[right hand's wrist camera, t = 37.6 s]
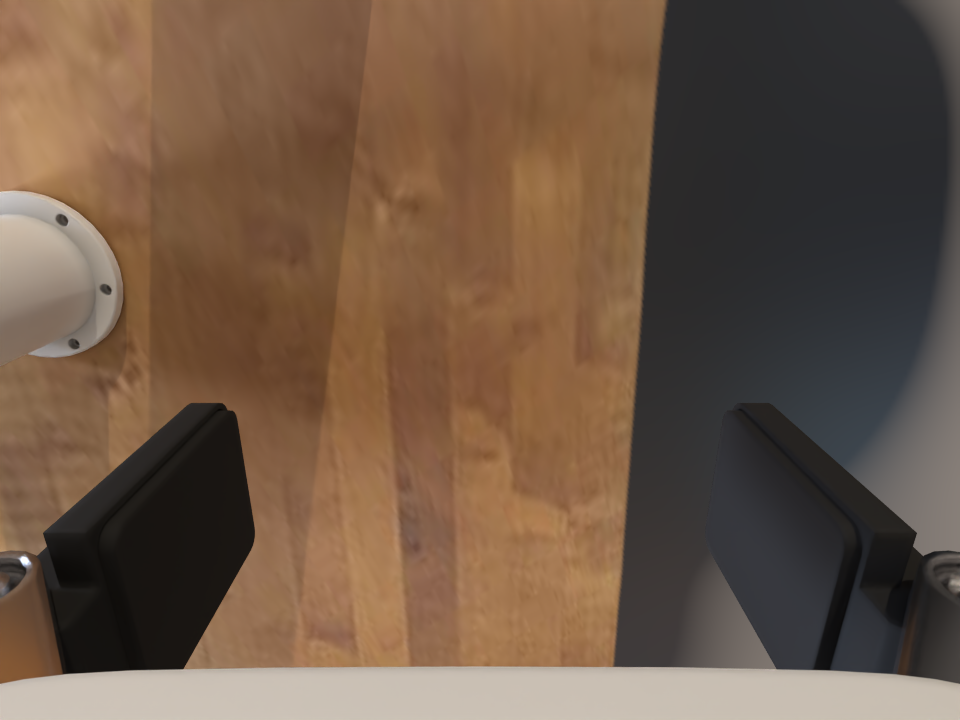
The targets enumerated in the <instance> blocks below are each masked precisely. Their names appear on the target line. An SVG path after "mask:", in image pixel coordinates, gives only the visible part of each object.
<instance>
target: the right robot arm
mask: <svg viewBox="0 0 960 720" xmlns="http://www.w3.org/2000/svg"><path fill="white" fill-rule="evenodd" d="M110 287H111V288H110ZM122 304H123V282H122V277H121V272H120V268H119V266H118V263H117V261H116V259H115V256H114V254H113V252H112V250H111V249H110V247H109V245H108V244H107V242H106V241H105V239H104V238H103V236H102V235H101V234H100V233H99V232H98V231H97V229H96V228H95V227H94V226H93V225H92V224H91V223H90V222H89V221H88V220H86V219H85V218H84V217H83V216H82V215H81V214H80V213H78V212H77V211H75V210H74V209H72V208H70V207H69V206H67V205H66V204H64V203H62V202H60V201H57V200H55V199H53V198H51V197H48V196H45V195H41V194H37V193H33V192H28V191H5V192H0V366H2V365H4V364H7V363H9V362H11V361H13V360H15V359H17V358H20V357H22V356H24V355H26V354H29V355H34V356H38V357H50V358H58V357H66V356H72V355H75V354H78V353H80V352H83V351H85V350H87V349H89V348H91V347H93V346H95V345H97V344H98V343H99V342H100V341H102V340H103V339H104V338H105V337H107V336H108V334H109V333H110V332H111V330H112V329H113V328H114V327H115V325H116V323H117V320H118V318H119V316H120V314H121V309H122ZM43 534H44V538H45V541H46V544H47V547H46V548H45V549H44V550H43V551H42V552H41V553H40V554H39V555H38V556H36V555H33V554H31V553H28V552H26V551H5V552H0V720H960V552H955V551H935V552H932V553H929V554H927V555H924V556H922V555H921V554H920V553H919V552H918V551H917V550H916V549H915V548H914V547H913V544H914V541H915V538H916V534H917V533H916V532H915V531H914V530H913V529H912V528H911V527H910V526H908V525H907V524H906V523H905V522H904V521H903V520H902V519H901V518H899V517H898V516H897V515H896V514H895V513H894V512H893V511H891V510H890V509H889V508H888V507H887V506H886V505H885V504H884V503H882V502H881V501H880V500H879V499H878V498H877V497H876V496H874V495H873V494H872V493H871V492H870V491H869V490H868V489H867V488H865V487H864V486H863V485H862V484H861V483H860V482H859V481H857V480H856V479H855V478H854V477H853V476H852V475H851V474H850V473H848V472H847V471H846V470H845V469H844V468H843V467H842V466H841V465H839V464H838V463H837V462H836V461H835V460H834V459H833V458H832V457H830V456H829V455H828V454H827V453H826V452H825V451H824V450H822V449H821V448H820V447H819V446H818V445H817V444H816V443H815V442H813V441H812V440H811V439H810V438H809V437H808V436H807V435H805V434H804V433H803V432H802V431H801V430H800V429H799V428H798V427H796V426H795V425H794V424H793V423H792V422H791V421H790V420H789V419H787V418H786V417H785V416H784V415H783V414H782V413H781V412H780V411H778V410H777V409H776V408H775V407H774V406H773V405H771V404H769V403H738V404H736V405H735V406H734V408H733V410H732V411H727V412H726V413H725V414H724V417H723V422H722V428H721V434H720V441H719V447H718V453H717V459H716V465H715V472H714V478H713V484H712V490H711V496H710V503H709V509H708V515H707V522H706V528H705V538H706V543H707V546H708V549H709V551H710V552H711V554H712V556H713V558H714V560H715V561H716V563H717V565H718V567H719V568H720V570H721V572H722V574H723V575H724V577H725V579H726V581H727V582H728V584H729V586H730V588H731V589H732V591H733V593H734V595H735V596H736V598H737V600H738V602H739V604H740V605H741V607H742V609H743V611H744V612H745V614H746V616H747V618H748V619H749V621H750V623H751V625H752V626H753V628H754V630H755V632H756V633H757V635H758V637H759V639H760V640H761V642H762V644H763V646H764V648H765V649H766V651H767V653H768V655H769V656H770V658H771V660H772V662H773V663H774V665H775V667H776V669H728V668H669V667H290V668H232V669H184V667H185V665H186V663H187V662H188V660H189V658H190V656H191V655H192V653H193V651H194V649H195V648H196V646H197V644H198V642H199V640H200V639H201V637H202V635H203V633H204V632H205V630H206V628H207V626H208V625H209V623H210V621H211V619H212V618H213V616H214V614H215V612H216V611H217V609H218V607H219V605H220V604H221V602H222V600H223V598H224V596H225V595H226V593H227V591H228V589H229V588H230V586H231V584H232V582H233V581H234V579H235V577H236V575H237V574H238V572H239V570H240V568H241V567H242V565H243V563H244V561H245V560H246V558H247V556H248V554H249V552H250V551H251V549H252V546H253V543H254V538H255V528H254V521H253V515H252V509H251V503H250V497H249V490H248V484H247V478H246V472H245V465H244V459H243V453H242V447H241V440H240V434H239V428H238V422H237V417H236V414H235V412H233V411H228V410H227V408H226V406H225V405H224V404H223V403H191V404H189V405H187V406H186V407H185V408H184V409H183V410H182V411H180V412H179V413H178V414H177V415H176V416H175V417H174V418H173V419H171V420H170V421H169V422H168V423H167V424H166V425H165V426H164V427H162V428H161V429H160V430H159V431H158V432H157V433H156V434H154V435H153V436H152V437H151V438H150V439H149V440H148V441H147V442H145V443H144V444H143V445H142V446H141V447H140V448H139V449H138V450H136V451H135V452H134V453H133V454H132V455H131V456H130V457H128V458H127V459H126V460H125V461H124V462H123V463H122V464H121V465H119V466H118V467H117V468H116V469H115V470H114V471H113V472H112V473H110V474H109V475H108V476H107V477H106V478H105V479H104V480H102V481H101V482H100V483H99V484H98V485H97V486H96V487H95V488H93V489H92V490H91V491H90V492H89V493H88V494H87V495H86V496H84V497H83V498H82V499H81V500H80V501H79V502H78V503H76V504H75V505H74V506H73V507H72V508H71V509H70V510H69V511H67V512H66V513H65V514H64V515H63V516H62V517H61V518H59V519H58V520H57V521H56V522H55V523H54V524H53V525H52V526H50V527H49V528H48V529H47V530H46V531H45V532H44V533H43Z"/></svg>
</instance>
